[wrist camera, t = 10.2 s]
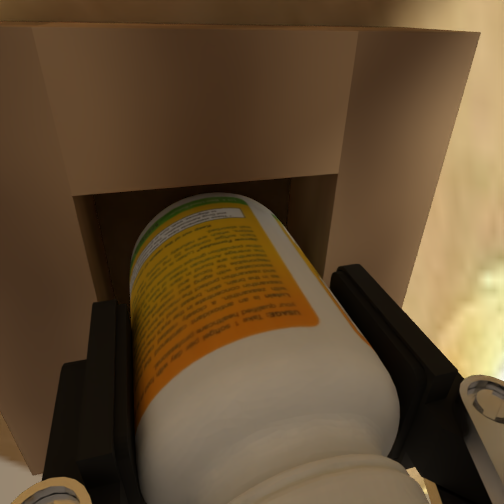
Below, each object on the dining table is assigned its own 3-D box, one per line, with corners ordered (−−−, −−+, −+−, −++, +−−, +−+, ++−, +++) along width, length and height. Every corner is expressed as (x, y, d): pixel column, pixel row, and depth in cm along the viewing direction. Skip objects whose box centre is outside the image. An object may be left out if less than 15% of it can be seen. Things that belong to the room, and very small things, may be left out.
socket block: (400, 27, 13) (480, 32, 10) (341, 338, 20) (377, 392, 17) (-99, 19, 9) (-196, 24, 7) (48, 396, 17) (32, 475, 14)
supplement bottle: (102, 298, 13) (67, 761, 5) (176, 157, 11) (305, 529, 3) (236, 336, 15) (354, 680, 8) (314, 226, 14) (574, 526, 6)
